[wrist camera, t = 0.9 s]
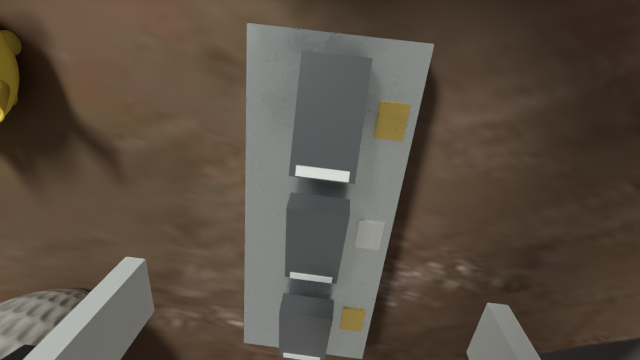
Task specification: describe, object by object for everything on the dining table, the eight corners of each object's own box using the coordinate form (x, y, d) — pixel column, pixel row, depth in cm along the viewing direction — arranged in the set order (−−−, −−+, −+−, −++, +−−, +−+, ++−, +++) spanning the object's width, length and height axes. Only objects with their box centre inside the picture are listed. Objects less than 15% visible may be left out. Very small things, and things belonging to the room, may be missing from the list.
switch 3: (283, 293, 31) (279, 313, 29) (334, 300, 31) (332, 320, 29) (282, 337, 36) (278, 356, 34) (325, 343, 36) (323, 363, 34)
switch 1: (304, 56, 24) (301, 49, 22) (369, 64, 24) (372, 58, 22) (292, 172, 26) (288, 176, 23) (353, 180, 25) (355, 184, 23)
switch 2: (290, 192, 26) (286, 209, 25) (350, 199, 26) (349, 217, 24) (288, 260, 32) (284, 277, 30) (337, 266, 32) (336, 284, 30)
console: (263, 26, 28) (244, 22, 23) (419, 44, 28) (436, 44, 23) (255, 309, 42) (242, 347, 36) (360, 324, 41) (362, 364, 36)
